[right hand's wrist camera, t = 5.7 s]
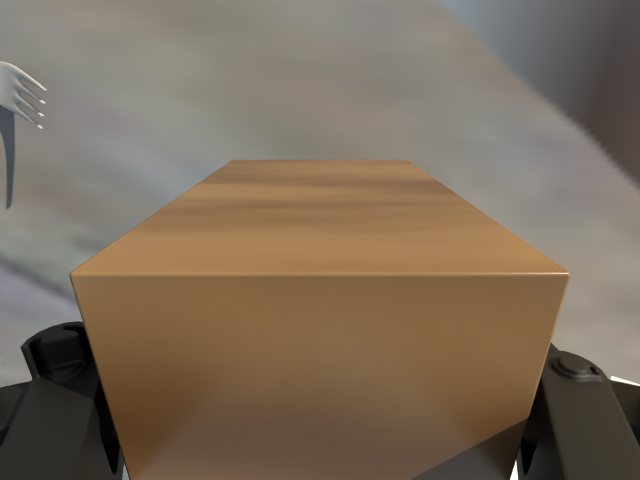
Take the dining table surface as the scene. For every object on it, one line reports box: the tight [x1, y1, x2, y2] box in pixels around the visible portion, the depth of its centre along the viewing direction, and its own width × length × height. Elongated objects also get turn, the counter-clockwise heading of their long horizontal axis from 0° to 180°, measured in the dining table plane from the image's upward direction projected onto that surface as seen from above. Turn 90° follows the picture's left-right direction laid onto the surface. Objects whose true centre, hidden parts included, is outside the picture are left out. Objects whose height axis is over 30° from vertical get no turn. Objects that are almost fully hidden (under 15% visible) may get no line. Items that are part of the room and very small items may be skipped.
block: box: [70, 160, 570, 480], centre depth 12 cm, size 8×8×11 cm
